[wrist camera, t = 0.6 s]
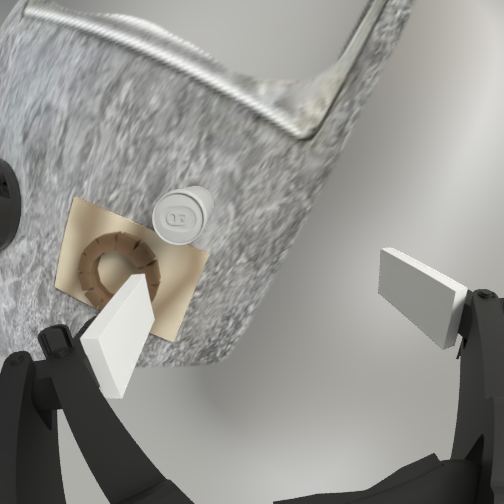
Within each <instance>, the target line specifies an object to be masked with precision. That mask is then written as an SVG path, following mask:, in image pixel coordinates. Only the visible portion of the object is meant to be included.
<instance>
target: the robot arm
mask: <svg viewBox="0 0 504 504" xmlns="http://www.w3.org/2000/svg"><path fill="white" fill-rule="evenodd" d="M20 215H21V195H20V189H19V184H18V181H17V178H16V175H15V173H14V171H13V169H12V168H11V167H10V165H9V164H8V163H7V162H6V161H4V160H2V159H0V250H1V249H3V248H5V247H7V246H8V245H9V244H10V243H11V241H12V240H13V238H14V237H15V234H16V232H17V229H18V226H19V222H20ZM378 293H379V294H380V295H381V296H383V298H385V299H386V300H387V301H388V302H389V303H391V304H392V305H393V306H394V307H395V308H396V309H398V310H399V311H400V312H401V313H402V314H403V315H404V316H406V317H407V318H408V319H409V320H410V321H411V322H413V323H414V324H415V325H416V326H417V327H418V328H419V329H420V330H421V331H422V332H424V333H425V334H426V335H427V336H428V337H429V338H430V339H431V340H432V341H433V342H435V343H436V344H437V345H438V346H439V347H440V348H441V349H442V350H443V349H446V348H449V347H451V346H454V345H455V342H456V338H457V334H458V333H459V334H460V335H461V336H462V337H463V338H462V342H461V345H460V348H459V352H458V355H457V358H456V359H459V356H461V363H460V389H459V404H458V413H457V422H456V429H455V436H454V443H453V449H452V454H451V458H450V460H443V461H439V460H438V458H437V456H436V455H435V453H433V454H431V455H429V456H427V457H424V458H422V459H420V460H418V461H416V462H413V463H411V464H409V465H407V466H404V467H402V468H400V469H399V470H397V471H396V472H395V473H393V474H392V475H390V476H388V477H387V478H385V479H384V480H382V481H381V482H379V483H378V484H376V485H374V486H373V487H371V488H369V489H367V490H364V491H356V492H343V493H325V494H315V495H310V496H305V497H299V498H294V499H289V500H282V501H275V502H273V504H504V298H498V296H497V295H496V294H495V293H494V292H492V291H490V290H487V289H479V290H475V291H474V292H472V291H470V290H468V288H466V287H465V286H463V285H461V284H459V283H457V282H455V281H454V280H452V279H450V278H449V277H447V276H445V275H443V274H441V273H440V272H437V271H436V270H434V269H432V268H430V267H428V266H427V265H425V264H423V263H421V262H419V261H417V260H415V259H413V258H411V257H409V256H407V255H406V254H404V253H402V252H399V251H398V250H396V249H394V248H392V247H391V248H382V249H381V254H380V275H379V287H378ZM154 320H155V318H154V314H153V310H152V306H151V301H150V297H149V292H148V287H147V283H146V278H145V274H136V275H131V276H130V277H129V279H128V280H127V281H126V282H125V283H124V284H123V286H122V287H121V288H120V289H119V290H118V292H117V293H116V294H115V295H114V296H113V298H112V299H111V300H110V301H109V302H108V304H107V305H106V306H105V307H104V309H103V310H102V311H101V312H100V313H99V315H98V316H94V317H93V318H91V319H90V320H88V321H87V322H86V323H85V324H84V326H83V327H82V328H81V329H80V331H79V333H77V334H76V336H75V337H74V338H72V336H71V333H70V330H69V327H68V326H67V325H63V324H58V325H53V326H50V327H48V328H45V329H44V330H42V331H41V332H40V333H39V335H38V341H39V343H40V346H41V348H42V350H43V353H44V355H45V357H46V360H40V361H34V362H33V360H32V357H31V355H30V353H29V352H27V351H19V352H14V353H13V354H10V355H9V357H8V358H6V360H5V361H4V364H3V367H2V370H1V373H0V504H66V500H65V494H64V489H63V482H62V475H61V466H60V457H59V445H58V428H57V409H63V411H64V414H65V416H66V419H67V421H68V424H69V426H70V428H71V431H72V433H73V435H74V437H75V440H76V442H77V444H78V446H79V448H80V450H81V452H82V454H83V456H84V458H85V460H86V462H87V464H88V466H89V468H90V470H91V472H92V473H93V475H94V477H95V479H96V481H97V482H98V484H99V486H100V488H101V489H102V491H103V493H104V494H105V496H106V497H107V499H108V501H109V502H110V504H194V503H193V502H192V501H191V500H190V499H189V498H188V497H187V496H186V495H185V494H184V493H183V492H182V491H181V490H180V489H179V488H178V487H177V486H176V485H175V484H174V483H173V482H172V481H171V480H167V479H166V478H165V477H164V476H163V475H162V474H161V473H160V471H159V470H158V469H157V468H156V467H155V466H154V465H153V463H152V462H151V461H150V460H149V458H148V457H147V456H146V455H145V453H144V452H143V451H142V450H141V448H140V447H139V446H138V445H137V444H136V442H135V441H134V439H133V438H132V437H131V435H130V434H129V433H128V431H127V430H126V429H125V427H124V426H123V424H122V423H121V422H120V420H119V419H118V417H117V416H116V415H115V413H114V411H113V410H112V408H111V407H110V405H109V404H108V402H107V401H106V399H105V398H114V399H122V398H123V395H124V392H125V390H126V387H127V385H128V382H129V380H130V377H131V375H132V372H133V370H134V367H135V365H136V362H137V360H138V358H139V355H140V353H141V350H142V348H143V346H144V343H145V341H146V339H147V336H148V334H149V332H150V329H151V327H152V325H153V322H154ZM99 387H100V389H101V391H102V393H103V394H102V393H101V391H100V389H99ZM103 395H104V396H103Z"/></svg>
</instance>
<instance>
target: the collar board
mask: <svg viewBox="0 0 504 504" xmlns="http://www.w3.org/2000/svg"><path fill="white" fill-rule="evenodd" d="M208 256H209V253H206V252H204V251H201V250H199V249H197V248H194V247H192V246H189V245H187V244H186V245H178V246H176V245H172V244H169V243H167V242H165V241H163V240H162V239H161V238H160V237H159V236H158V235H157V233H156V232H155V231H154V230H152V229H149V228H147V227H145V226H142V225H140V224H138V223H135V222H133V221H131V220H128V219H126V218H124V217H122V216H119V215H117V214H115V213H112V212H110V211H108V210H106V209H103V208H101V207H99V206H96V205H94V204H92V203H90V202H87V201H85V200H83V199H81V198H78V197H74V199H73V203H72V206H71V210H70V214H69V218H68V222H67V226H66V230H65V234H64V238H63V243H62V248H61V253H60V258H59V263H58V269H57V275H56V281H55V287H56V288H58V289H59V290H61V291H63V292H65V293H67V294H69V295H71V296H72V297H74V298H76V299H78V300H80V301H82V302H84V303H86V304H88V305H90V306H92V307H94V308H96V309H98V311H102V310H103V309H104V307H105V306H106V305H107V304H108V302H109V301H110V300H111V299H112V298H113V296H114V295H115V294H116V293H117V292H118V290H119V289H120V288H121V287H122V286H123V284H124V283H125V282H126V281H127V280H128V279H129V277H130V276H131V275H136V274H145V278H146V283H147V287H148V292H149V297H150V301H151V306H152V310H153V314H154V318H155V320H154V322H153V325H152V327H151V329H150V332H149V333H151V334H154V335H156V336H158V337H161V338H163V339H166V340H168V341H171V342H173V343H174V340H175V337H176V335H177V332H178V330H179V327H180V325H181V322H182V320H183V317H184V315H185V312H186V310H187V307H188V305H189V302H190V300H191V297H192V295H193V292H194V290H195V287H196V285H197V282H198V280H199V278H200V275H201V273H202V270H203V268H204V265H205V263H206V261H207V258H208Z"/></svg>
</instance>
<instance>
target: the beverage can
mask: <svg viewBox="0 0 504 504" xmlns="http://www.w3.org/2000/svg"><path fill="white" fill-rule="evenodd" d="M213 210H214V200H213V197H212V195H211V194H210V192H209V191H208V190H206V189H205V188H203V187H201V186H190V187H186V188H181V189H176V190H173V191H170V192H167V193H166V194H165V195H163V196H162V197H161V198H160V199H159V200H158V201H157V203H156V205H155V207H154V209H153V213H152V224H153V227H154V230H155V232H156V233H157V235H158V236H159V237H160V238H161V239H162V240H163V241H165V242H167V243H169V244H172V245H176V246H178V245H186V244H189V243H192V242H193V241H195V240H196V239H198V238H199V237H200V236H201V234H202V233H203V232H204V230H205V228H206V226H207V224H208V221H209V219H210V217H211V215H212V213H213Z"/></svg>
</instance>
